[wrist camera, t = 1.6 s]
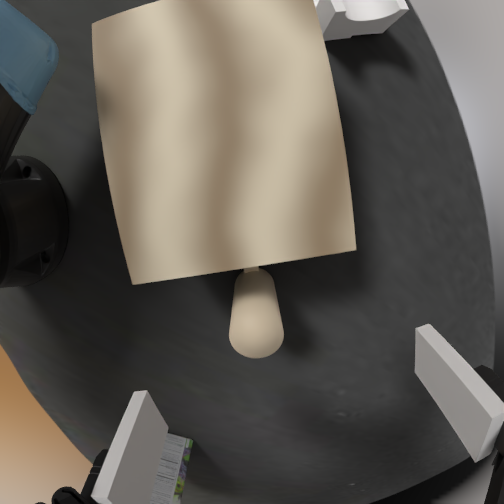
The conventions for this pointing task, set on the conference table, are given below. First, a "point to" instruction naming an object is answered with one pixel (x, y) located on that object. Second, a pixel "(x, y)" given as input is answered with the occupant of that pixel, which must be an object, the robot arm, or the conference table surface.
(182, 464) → the syrup box
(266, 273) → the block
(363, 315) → the conference table surface
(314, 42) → the wooden frame
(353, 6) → the bracket
